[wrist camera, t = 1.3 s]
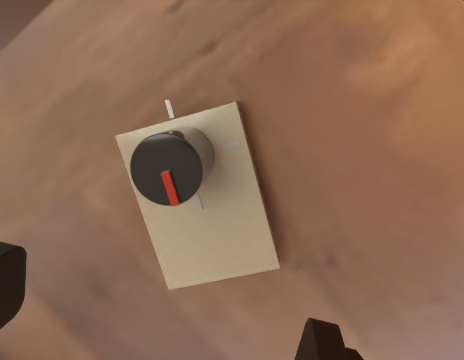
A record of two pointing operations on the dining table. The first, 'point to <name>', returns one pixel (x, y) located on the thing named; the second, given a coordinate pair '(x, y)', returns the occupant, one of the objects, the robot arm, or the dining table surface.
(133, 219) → the dining table surface
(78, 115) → the dining table surface
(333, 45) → the dining table surface
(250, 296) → the dining table surface
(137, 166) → the hob knob
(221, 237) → the hob panel
